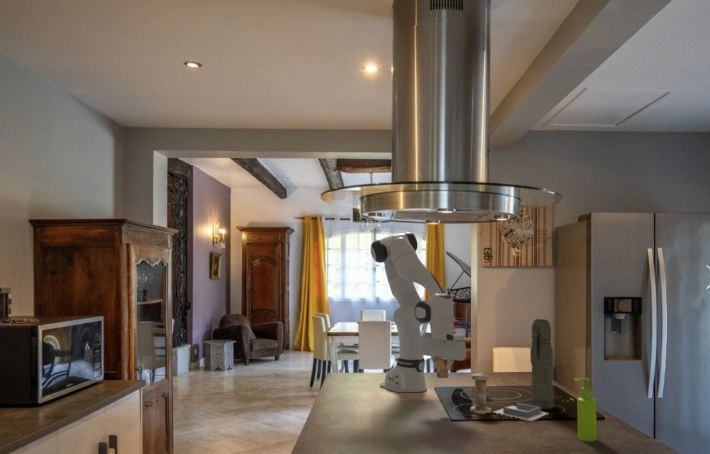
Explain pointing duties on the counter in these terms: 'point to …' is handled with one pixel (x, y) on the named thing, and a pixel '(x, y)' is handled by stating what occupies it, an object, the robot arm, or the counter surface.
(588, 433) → the soap dispenser
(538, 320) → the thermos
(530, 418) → the terminal board
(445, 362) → the copper plug
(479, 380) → the wooden spool
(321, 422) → the counter surface
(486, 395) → the push button
